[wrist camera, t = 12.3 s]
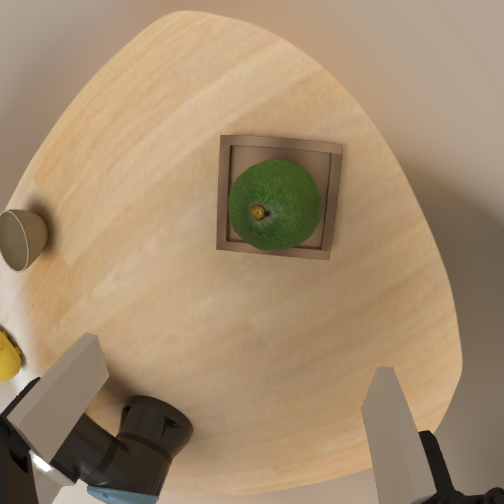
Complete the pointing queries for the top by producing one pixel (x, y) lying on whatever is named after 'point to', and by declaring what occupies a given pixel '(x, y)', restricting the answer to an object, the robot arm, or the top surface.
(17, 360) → the teapot
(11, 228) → the grey bowl
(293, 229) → the avocado
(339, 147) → the base
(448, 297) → the top surface
